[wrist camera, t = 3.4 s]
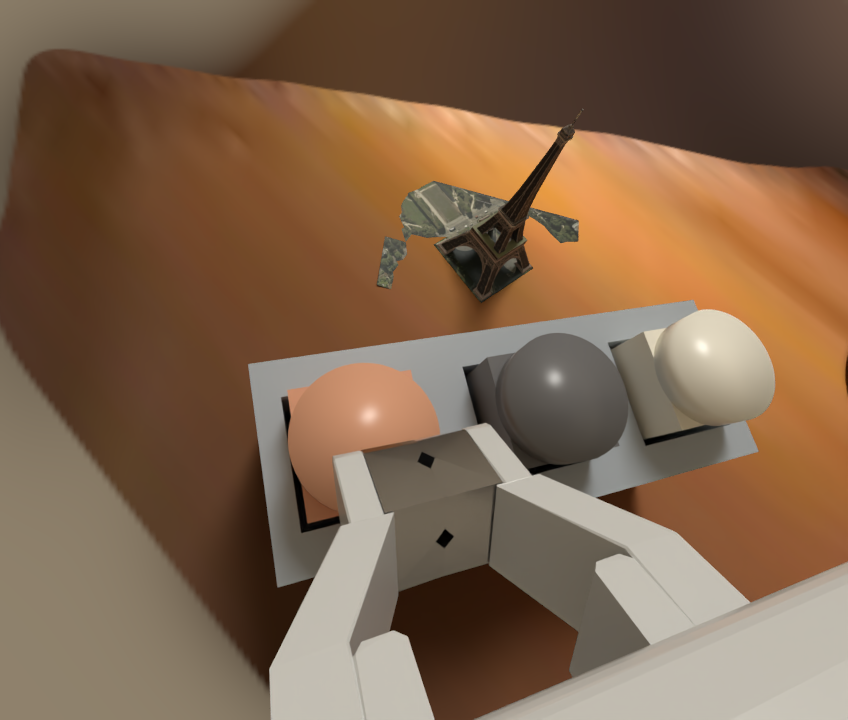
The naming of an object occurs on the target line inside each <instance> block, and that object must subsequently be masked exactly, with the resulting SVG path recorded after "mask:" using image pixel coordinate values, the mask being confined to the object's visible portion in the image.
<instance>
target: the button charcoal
mask: <svg viewBox="0 0 848 720" xmlns="http://www.w3.org/2000/svg"><path fill="white" fill-rule="evenodd" d="M465 379H466V382H467V386H468V390H469V394H470V397H471V401H472V405H473V409H474V412H475V416H476V420H477V424H478V425H479V424H483V423H487V424H489V425H491V426H492V428H493V429H494V430H495V431H496V433H497V434H498V435H499V436H500V437H501V439H502V440H503V441H504V442H505V443H506V445H507V446H508V447H509V448H510V449H511V451H512V452H513V453H514V454H515V455H516V457H517V458H518V459H519V460H520V461H521V463H522V464H523V465H524V466H525V468H526V469H529V468H533V467H537V466H541V465H545V464H556V465H567V464H572V463H578V462H583V461H588V460H592V459H595V458H598V457H600V456H602V455H604V454H606V453H607V452H608V451H610V450H611V449H612V448H614V447H618V446H620V445H619V443H618V441H619V440H620V438H621V436H622V434H623V432H624V430H625V427H626V424H627V418H628V397H627V392H626V388H625V385H624V382H623V380H622V378H621V375H620V374H619V372H618V370H617V368H616V367H615V365H614V364H613V362H612V361H611V360H610V359H609V358H608V356H607V355H606V354H605V353H604V352H603V351H601V350H600V349H599V348H598V347H596V346H595V345H594V344H592V343H591V342H589V341H587V340H585V339H583V338H581V337H578V336H575V335H572V334H566V333H549V334H545V335H541V336H539V337H536V338H534V339H533V340H531V341H529V342H528V343H527V344H526V345H524V346H523V347H522V348H521V349H519V350H518V351H517V352H516V353H510V354H504V355H497V356H491V357H487V358H486V359H485V360H483V361H482V362H481V363H480V364H479V365H478V366H477V367H476V368H475V369H474V370H472V371H471V372H470V373H469V374H468V375H467V376H466V377H465Z"/></svg>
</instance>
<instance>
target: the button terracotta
mask: <svg viewBox="0 0 848 720" xmlns="http://www.w3.org/2000/svg"><path fill="white" fill-rule="evenodd" d="M287 392H288V399H289V406H290V412H291V419H290V424H289V429H288V449H289V454H290V459H291V462H292V465H293V468H294V470H295V473H296V475H297V477H298V478H299V480H300V482H301V484H302V490H303V497H304V503H305V510H306V516H307V523H312V522H316V521H320V520H324V519H328V518H332V517H336V516H339V511H338V505H337V497H336V489H335V481H334V472H333V464H332V457H333V456H335V455H340V454H345V453H350V452H355V451H361V450H364V449H369V448H374V447H379V446H384V445H390V444H395V443H400V442H405V441H410V440H416V439H421V438H425V437H430V436H434V435H439V434H440V428H439V422H438V418H437V415H436V412H435V409H434V407H433V405H432V403H431V401H430V400H429V398H428V396H427V395H426V393H425V392H424V391H423V390H422V388H421V387H420V386H419V385H418V384H417V383H416V382H415V381H413V377H412V373H411V370H406V371H398V370H396V369H393V368H391V367H388V366H385V365H381V364H375V363H354V364H349V365H344V366H341V367H338V368H335V369H333V370H331V371H329V372H327V373H325V374H324V375H322V376H321V377H319V378H318V379H317V380H316V381H314V382H313V383H312V384H311V385H310V386H308V387H302V388H296V389H290V390H287Z"/></svg>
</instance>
